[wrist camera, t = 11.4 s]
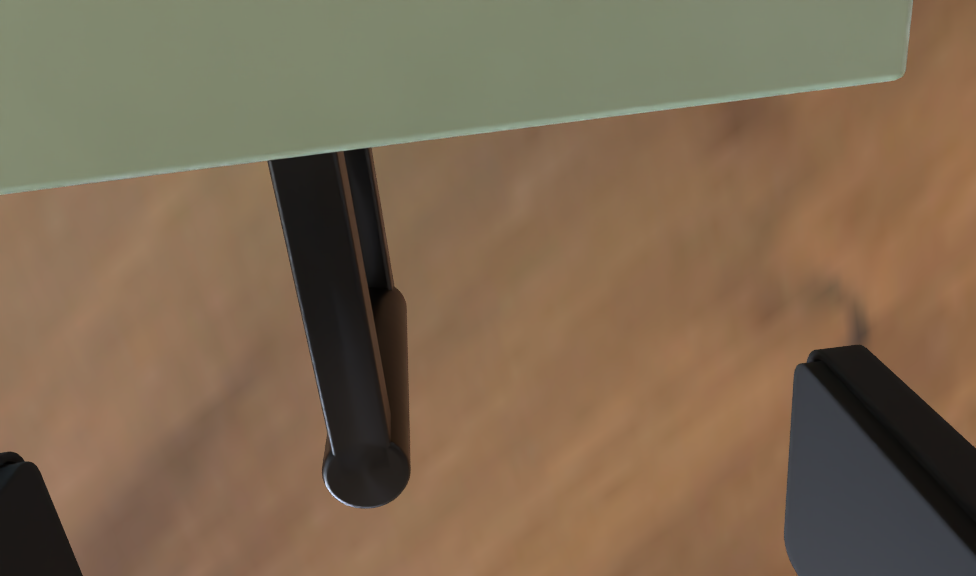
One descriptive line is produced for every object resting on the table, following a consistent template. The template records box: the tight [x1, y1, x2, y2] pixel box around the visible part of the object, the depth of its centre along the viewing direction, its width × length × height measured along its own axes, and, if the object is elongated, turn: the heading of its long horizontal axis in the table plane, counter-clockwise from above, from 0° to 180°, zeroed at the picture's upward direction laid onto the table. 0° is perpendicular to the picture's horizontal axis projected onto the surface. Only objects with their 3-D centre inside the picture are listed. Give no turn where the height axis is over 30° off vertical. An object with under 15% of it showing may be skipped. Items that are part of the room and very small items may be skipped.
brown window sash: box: [268, 147, 411, 508], centre depth 12 cm, size 9×7×8 cm
